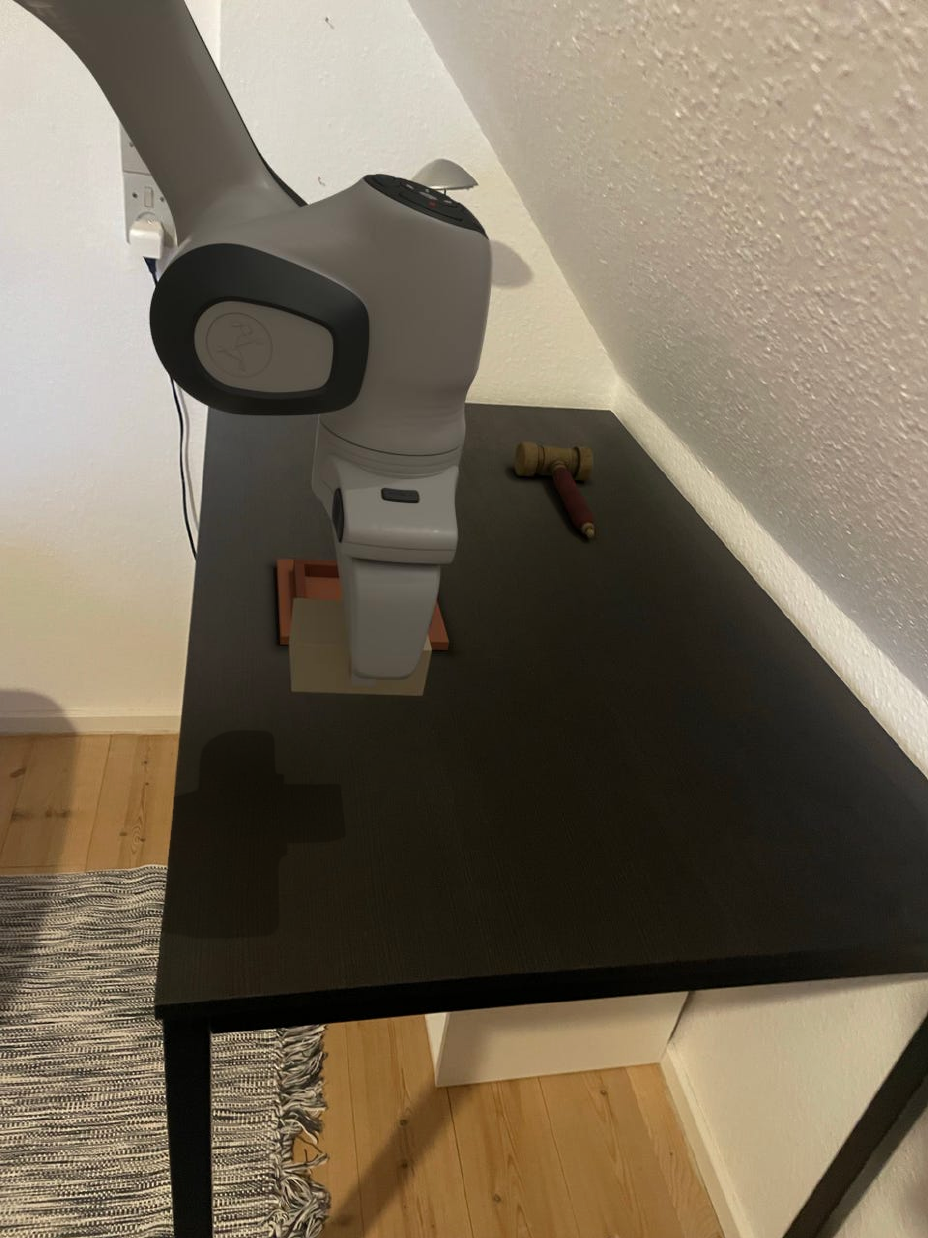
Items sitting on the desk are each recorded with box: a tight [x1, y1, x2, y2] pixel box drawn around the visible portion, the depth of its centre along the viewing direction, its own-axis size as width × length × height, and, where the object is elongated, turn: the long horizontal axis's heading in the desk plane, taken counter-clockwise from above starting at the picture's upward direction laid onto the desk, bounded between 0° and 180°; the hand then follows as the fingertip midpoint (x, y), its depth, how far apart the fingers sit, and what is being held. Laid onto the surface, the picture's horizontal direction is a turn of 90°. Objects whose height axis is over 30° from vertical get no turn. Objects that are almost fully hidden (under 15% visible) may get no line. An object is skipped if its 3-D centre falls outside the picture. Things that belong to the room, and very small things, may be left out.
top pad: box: [288, 598, 433, 697], centre depth 65 cm, size 9×6×4 cm, turn 100°
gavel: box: [514, 441, 595, 539], centre depth 124 cm, size 21×5×10 cm
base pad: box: [276, 558, 450, 651], centre depth 95 cm, size 16×14×2 cm
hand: (357, 650), depth 66 cm, fingers closed on top pad, 5 cm apart
